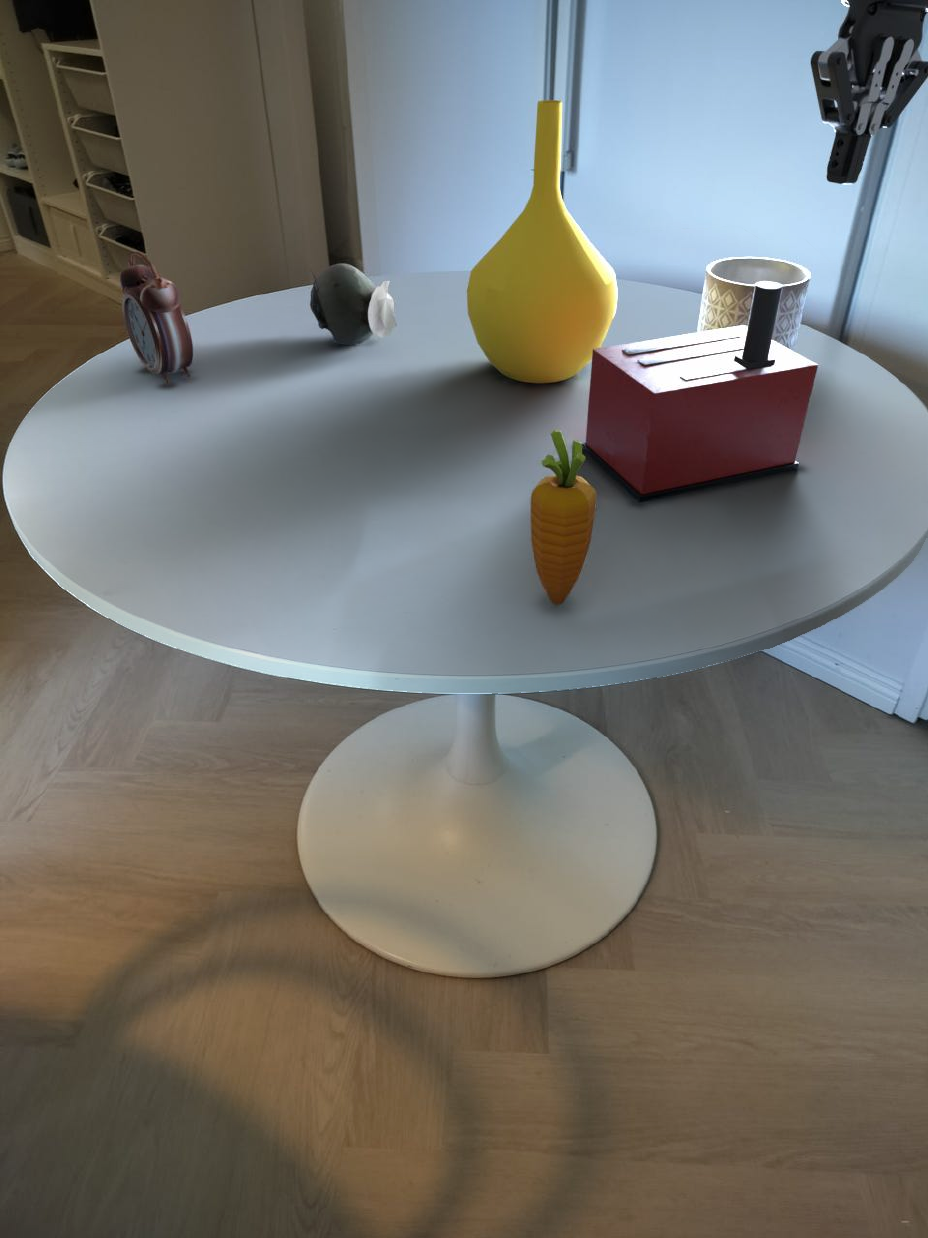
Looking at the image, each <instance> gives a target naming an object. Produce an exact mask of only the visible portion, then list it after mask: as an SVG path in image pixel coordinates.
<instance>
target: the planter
mask: <svg viewBox="0 0 928 1238" xmlns="http://www.w3.org/2000/svg"><path fill="white" fill-rule="evenodd" d="M811 277H812V274H811V272H810V271H809V270H808V269H807V268H805V267H803V266H802V265H799V264H796V263H793V262H790V261H786V260H781V259H775V258H769V257H757V256H756V257H755V256H744V257H743V256H742V257H739V256H738V257H728V258H723V259H719V260H716V261H713V262H710V264H708V265H707V266H706V270H705V276H704V282H703V289H702V295H701V301H700V302H701V303H700V309H699V316H698V323H697V330H696V333H699V332H705V331H711V330H718V329H724V328H730V327H737V326H743V325H745V326H746V327H747V326H748V321H749V316H750V310H751V305H752V299H753V294H754V289H755V284H756V283H758V282H762V281H770V282H776V283H779V284H781V285H782V286H783V288H782V293H781V298H780V303H779V308H778V313H777V317H776V322H775V327H774V332H773V337H772V340H773V341H775V342H777V343H778V344H780V345H782V346H784V347H786V348H788V349H790V350H792V351H793V352H795V349H796V345H797V340H798V336H799V331H800V327H801V323H802V318H803V314H804V309H805V304H806V300H807V296H808V291H809V286H810V281H811Z"/></svg>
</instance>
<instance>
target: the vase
mask: <svg viewBox="0 0 928 1238" xmlns="http://www.w3.org/2000/svg"><path fill="white" fill-rule="evenodd" d="M536 107H537V108H536V121H535V122H536V124H535V126H536V127H535V141H534V157H533V160H534V161H533V183H532V185H533V186H532V189H531V191H530V192H531V193H530V195H529V198H528V201H527V202H526V204H525V207H524V209H523V210H522V212H521V213H520V214H519V215H518V216H517V218H516V219H515V220H514V221H513V223H512V224H511V225H510V226H509V228H508V229H507V230H506V231H505V232H504V233H503V234H502V236H501V237H500V239H498V241H496V243H495V244H494V245H493V246H492V247H491V248H490V249H489V250H488V252H486V254H484V256H483V257H482V258H481V259H480V260H479V261H478V262H477V263H476V264H475V265H474V267H473V268H472V269H471V270H470V274H469V278H468V283H467V288H466V305H467V308H466V309H467V316H468V318H469V322H470V324H471V327H472V331H473V333H474V336H475V339H476V342H477V344H478V346H479V347H480V349H481V350H482V352H483V354H484V355H485V357H486V359H487V360H488V361H489V362H490V363H491V365H492V366H493V367H495V369H497V370H498V371H499V373H501V374H502V375H504V376H505V377H507V378H509V379H511V380H514V381H517V382H523V383H530V384H550V383H559V382H562V381H566V380H569V379H571V378H573V377H574V376H575V375H577V374H578V373H579V372H580V371H582V370H583V369H584V368H585V367H586V366H588V364H590V362H592V354H593V349H597V348H602V346H603V344H604V341H605V339H606V337H607V334H608V332H609V331H610V327H611V325H612V322H613V320H614V318H615V315H616V312H617V305H618V304H617V303H618V298H619V297H618V296H619V295H618V294H619V293H618V292H619V291H618V285H617V276H616V273H615V271H614V268H613V267H612V266H611V265H610V264H609V263H608V261H606V259H605V258H604V257H603V256H602V254H601V253H600V252H599V251H598V250H597V249H596V247H595V246H594V245H593V243H591V242H590V240H589V239H588V237H587V235H586V234H585V233H584V232H583V231H582V229H581V227H580V226H579V225H578V224H577V222H576V221H575V219H574V218H573V217H572V215H571V214H570V213H569V211H568V210H567V208H566V205H565V202H564V200H563V197H562V193H561V188H560V187H561V186H560V180H561V179H560V177H561V158H562V157H561V155H562V122H563V121H562V117H563V116H562V114H563V113H562V112H563V101H562V100H557V99H556V100H554V99H544V100H538V101H537V106H536Z"/></svg>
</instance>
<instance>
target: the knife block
mask: <svg viewBox="0 0 928 1238" xmlns="http://www.w3.org/2000/svg"><path fill="white" fill-rule="evenodd" d="M746 332H747V327H746V326H745V325H743V326H737V327H730V328H724V329H718V330H711V331H705V332H699V333H697V332H692V333H687V334H686V333H685V334H681V335H674V336H673V335H672V336H667V337H662V338H655V339H649V340H643V341H635V342H630V343H623V344H622V343H621V344H616V345H611V346H610V345H609V346H603V347H601V348H597V349H593V354H592V360H591V368H590V381H589V393H588V406H587V420H586V432H585V442H581V444H582V451H584V452H585V453H586V454H587V455H588V456H589V457H590V458H591V459H593V461H595V463H597V464H598V465H599V466H600V467H601V468H602V469H603V470H605V472H607V473H608V474H609V475H610V476H611V477H612V478H613V479H614V480H615V481H616V482H618V483H619V485H621V486H622V487H623V488H624V489H625V490H626V491H627V492H628V493H630V495H632V496H633V497H634V498H635V499H636V500H637V501H638V502H639V503H641V502H647V501H652V500H657V499H660V498H665V497H669V496H675V495H679V494H684V493H688V492H692V491H697V490H703V489H709V488H712V487H716V486H721V485H726V484H730V483H735V482H740V481H744V480H749V479H753V478H754V479H755V478H760V477H763V476H767V475H772V474H777V473H782V472H786V471H793V470H795V469H798V468H799V465H800V462H798V461H797V454H798V451H799V446H800V443H801V438H802V435H803V430H804V426H805V421H806V417H807V413H808V409H809V405H810V401H811V396H812V393H813V389H814V383H815V380H816V375H817V372H818V367H819V364H818V363H816V362H814V361H812V360H810V359H809V358H806V357H805V356H803V355H801V354H799V353H797V352H796V351H792V350H790V349H788V348H786V347H784V346H782V345H780V344H778V343H777V342H775V341H773V340H772V342H771V347H770V352H769V356H770V357H772V358H774V359H775V365H773V366H767V367H761V368H755V369H750V370H748V369H746V368H744V367H743V366H741V365H739V364H738V363H736V362H734V356H735V355H740V354H743V348H744V343H745V337H746Z"/></svg>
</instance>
